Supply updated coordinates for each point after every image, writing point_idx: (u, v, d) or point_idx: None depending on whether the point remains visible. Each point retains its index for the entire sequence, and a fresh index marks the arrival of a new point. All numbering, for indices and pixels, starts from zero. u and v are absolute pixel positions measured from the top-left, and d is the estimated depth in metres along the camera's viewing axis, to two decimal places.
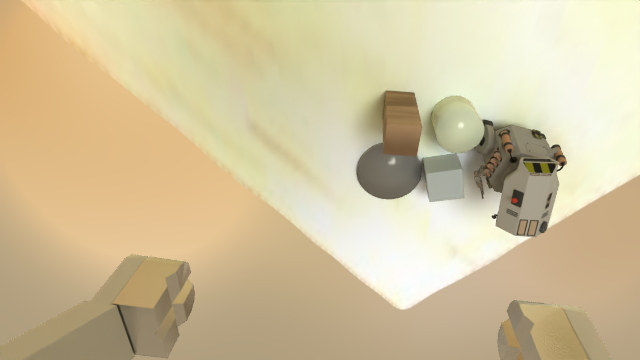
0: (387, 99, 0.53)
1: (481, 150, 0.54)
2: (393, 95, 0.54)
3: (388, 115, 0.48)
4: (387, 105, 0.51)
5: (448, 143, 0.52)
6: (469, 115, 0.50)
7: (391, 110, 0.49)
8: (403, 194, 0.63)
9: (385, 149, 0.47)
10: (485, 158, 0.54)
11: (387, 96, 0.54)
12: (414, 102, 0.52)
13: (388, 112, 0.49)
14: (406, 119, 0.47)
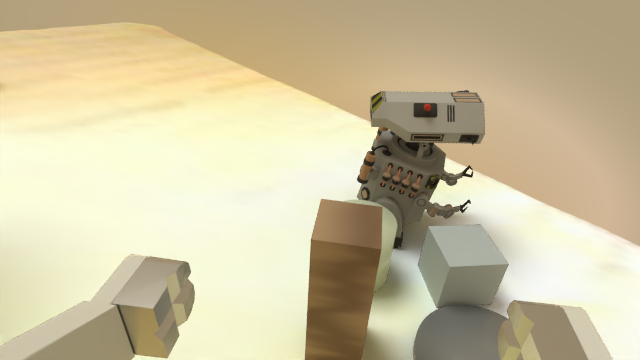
0: (307, 327, 0.27)
1: (394, 213, 0.37)
2: None
3: None
4: (308, 307, 0.26)
5: None
6: None
7: None
8: None
9: (370, 245, 0.22)
10: (406, 208, 0.38)
11: (306, 339, 0.28)
12: None
13: None
14: None
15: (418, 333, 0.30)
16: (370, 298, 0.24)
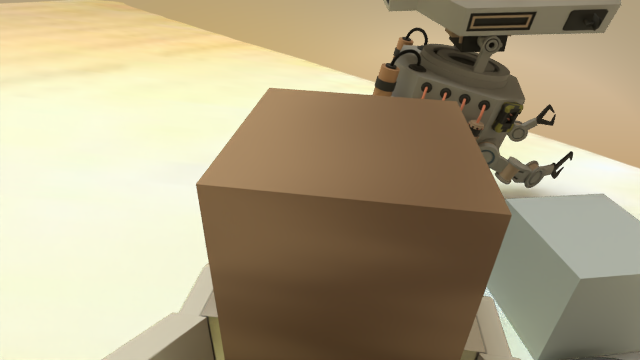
0: None
1: None
2: None
3: None
4: None
5: None
6: None
7: None
8: None
9: (456, 201, 0.05)
10: None
11: None
12: None
13: None
14: None
15: None
16: None
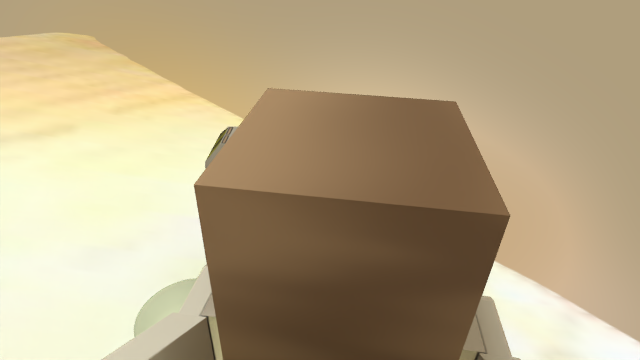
0: None
1: None
2: None
3: None
4: None
5: None
6: (153, 302, 0.24)
7: None
8: None
9: (454, 202, 0.05)
10: None
11: None
12: None
13: None
14: None
15: None
16: None
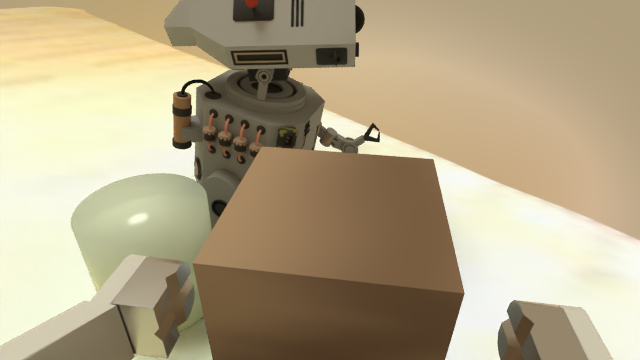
0: None
1: None
2: None
3: None
4: None
5: (163, 224, 0.18)
6: (101, 193, 0.19)
7: None
8: None
9: (418, 279, 0.06)
10: None
11: None
12: None
13: None
14: None
15: None
16: None
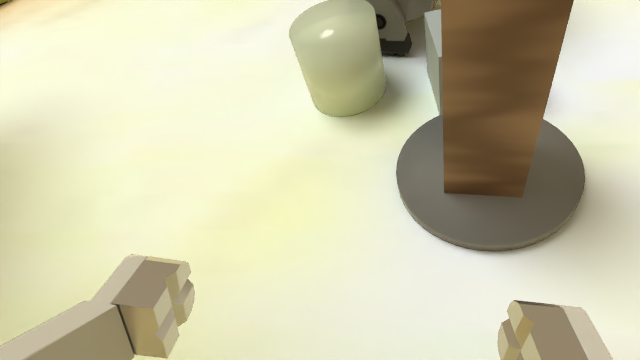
0: (443, 147, 0.20)
1: (387, 8, 0.29)
2: None
3: (442, 51, 0.15)
4: (443, 116, 0.18)
5: (350, 30, 0.25)
6: (299, 20, 0.28)
7: None
8: (553, 130, 0.23)
9: None
10: None
11: None
12: None
13: None
14: None
15: (405, 146, 0.25)
16: (548, 83, 0.15)
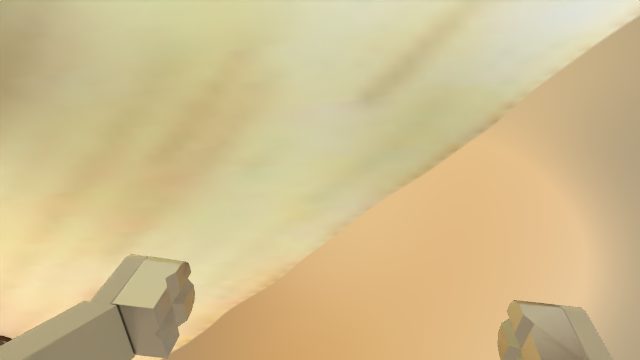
0: None
1: None
2: None
3: None
4: None
5: None
6: None
7: None
8: None
9: None
10: None
11: None
12: None
13: None
14: None
15: None
16: None
